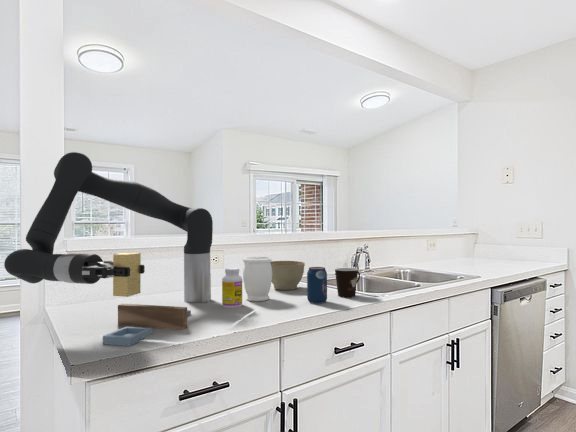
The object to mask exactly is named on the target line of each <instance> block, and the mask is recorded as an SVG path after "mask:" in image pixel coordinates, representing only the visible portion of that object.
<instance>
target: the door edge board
mask: <svg viewBox="0 0 576 432" xmlns="http://www.w3.org/2000/svg"><path fill="white" fill-rule="evenodd" d="M187 310H188V306H174V305H171V306H170V305H158V304H157V305H153V304H137V303H135V304H133V303H120V304H118V305H117V326H125V327H140V328H153V329H154V328H155V329H169V330H182V331H183V330H185V329H188V316H187Z"/></svg>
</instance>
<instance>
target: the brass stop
mask: <svg viewBox="0 0 576 432" xmlns="http://www.w3.org/2000/svg"><path fill="white" fill-rule="evenodd" d="M141 255H142V254H141V252H122V253H121V252H120V253H113V255H112V257H113V258H112V259H113V260H112V262H113V266H115V267H129V268H130V276H129V277H118V276H115V277H112V296H113V297H124V298H127V297H131V296H134V295H138V294H141V274H140V265H142V264H141V263H142V262H141V257H142V256H141Z"/></svg>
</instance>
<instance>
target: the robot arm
mask: <svg viewBox="0 0 576 432" xmlns="http://www.w3.org/2000/svg"><path fill="white" fill-rule="evenodd" d="M53 176H54V179H55V180H54V183H53V185H52V188H51V189H50V192H49V194H48V196H47V197H46V199H45V201H44V202H43V204H42V206H41V207H40V208H39V211H38V212H37V214H36V216H35V217H34V219H33V221H32V224H31V226H30V227H29V229H28V232H27V234H26V235H25V241H26V243H27V244H28V245H29V246H30V248H31V249H28V248H21V249H17V250H14V251H13V252H11V253H9V254H8V255H7V257H6V258H5V260H4V265H3V266H4V269H5V270H6V272H7V273H8V274H10V275H11V276H13V277H16V278H17V279H20V280H23V281H24V282H26V283H29V284H37V283H40V282H41V281H43V280H45V281H50V282H62V283H63V282H64V283H68V284H85V285H93V284H96V283H98V282H99V281H100V280H101V279H110V278H112V279H113V277H115V276H118V277H129V276H130V268H129V267H115V266H113V260H103V259H102V257H101V256H100V255H98V254H95V253H54V247H55V243H56V241H57V239H58V236H59V235H60V233H61V230H62V227H63V225H64V223H65V220H66V219H67V215H68V214H69V210H70V208H71V207H72V204H73V202H74V199H75V198H76V196H77V194H78V192H80V193H83V194H86V195H89V196H93V197H97V198H100V199H102V200H105V201H107V202H109V203H112V204H114V205H117V206H120V207H123V208H125V209H127V210H129V211H133V212H135V213H137V214H141V215H144V216H147V217H150V218H153V219H155V220H160V221H165V222H167V223H169V224H170V225H173V226H175V227H177V228H179V229H181V230H183V231H185V232H186V234H187V236H186V242H185V244H184V246H183V293H184V294H183V300H184V301H183V302H184V303H190V304H191V303H192V304H195V303H196V304H204V303H208V302H210V301H211V299H212V288H211V287H212V284H211V283H212V280H211V279H212V278H211V277H212V276H211V275H212V273H211V247H212V244H213V232H214V231H213V230H214V229H213V227H214V226H213V222H214V221H213V217H212V215H211V213H210V212H209V210H207V209H205V208H201V207H197V208H196V207H195V208H192V207H189V206H185V205H181V204H179V203H176V202H174V201H172V200H170V199H169V198H168V197H166V196H165V195H164V194H161V192H158V191H157V190H156V189H153V188H151V187H148V186H146V185H144V184H141V183H139V182H136V181H132V180H126V179H119V178H118V179H117V178H109V177H105V176H103V175H99V174H97V173H96V172H93V164H92V161H91V159H90V158H89V157H88V156H87V155H86V154H84V153H82V152H79V151H70V152H67V153H65V154H63V156H61V157H60V158H59V160H58V162H57V164H56V166H55V167H54V170H53ZM144 273H145V265H144V264H141V265H140V275H141V274H144Z"/></svg>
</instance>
